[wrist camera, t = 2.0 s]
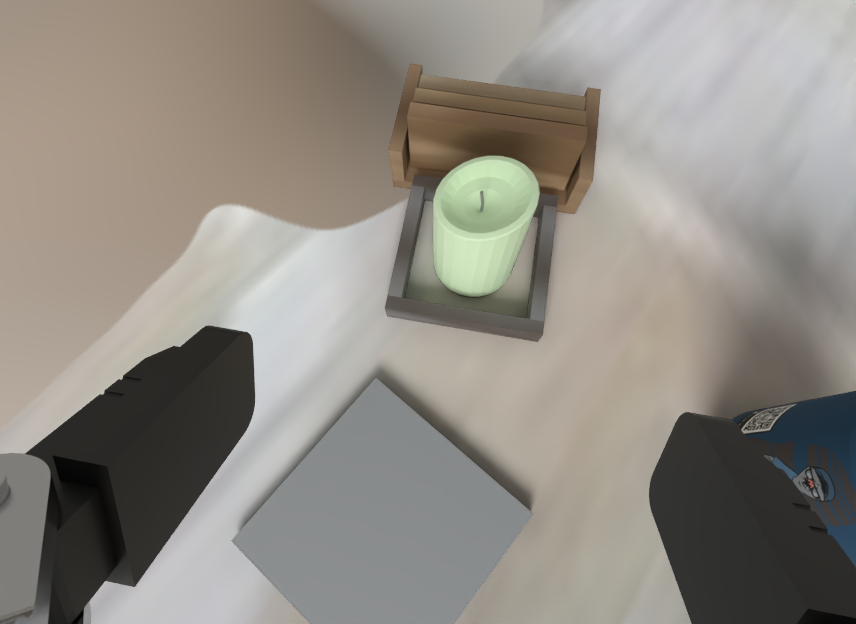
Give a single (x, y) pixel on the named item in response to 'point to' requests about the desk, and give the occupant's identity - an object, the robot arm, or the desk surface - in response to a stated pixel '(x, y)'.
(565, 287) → the desk surface
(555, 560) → the desk surface
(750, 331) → the desk surface
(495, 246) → the candle
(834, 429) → the soda can
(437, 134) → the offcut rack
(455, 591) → the slate mat
